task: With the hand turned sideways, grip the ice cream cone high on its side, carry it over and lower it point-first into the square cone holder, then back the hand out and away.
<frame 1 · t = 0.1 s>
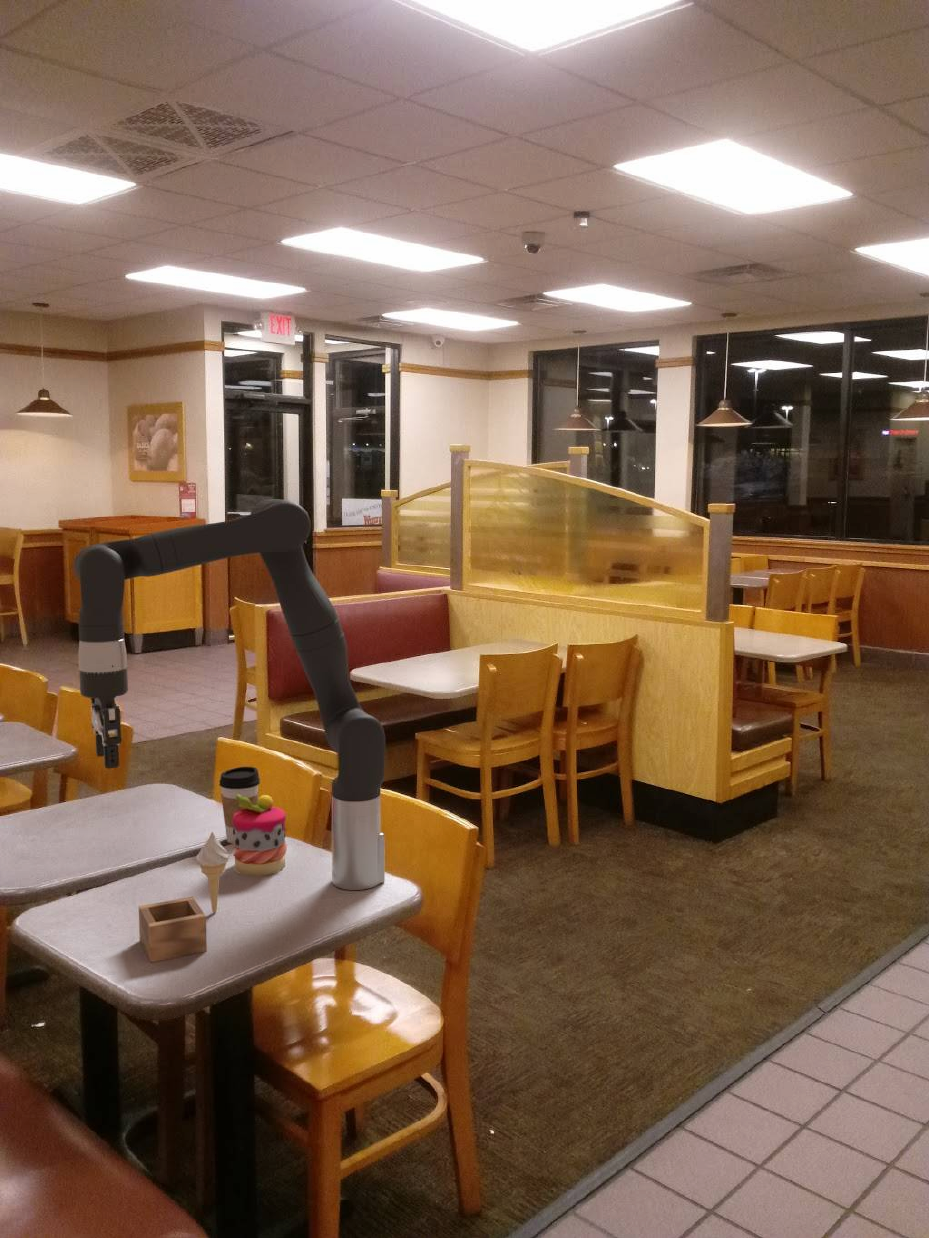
hand: (107, 761, 175), 29 cm above the table, tool pointing down, fingers open, 8 cm apart
cone holder: (172, 945, 172), on the table
cake: (260, 867, 207), on the table
coffee cup: (240, 840, 222), on the table
ice cream cone: (214, 913, 185), on the table
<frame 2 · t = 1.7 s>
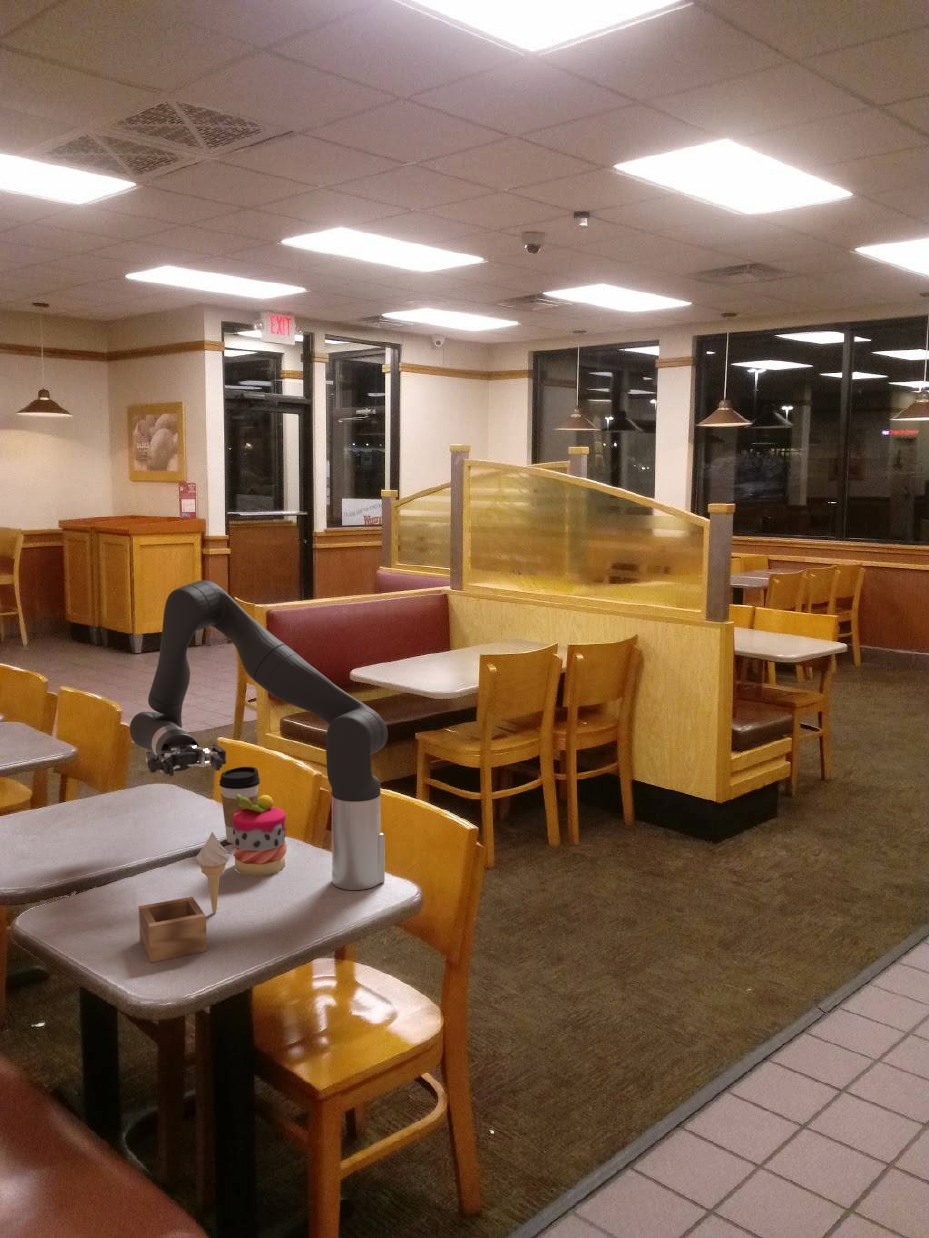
hand: (195, 767, 191), 24 cm above the table, tool horizontal, fingers open, 8 cm apart
nothing on the table moved.
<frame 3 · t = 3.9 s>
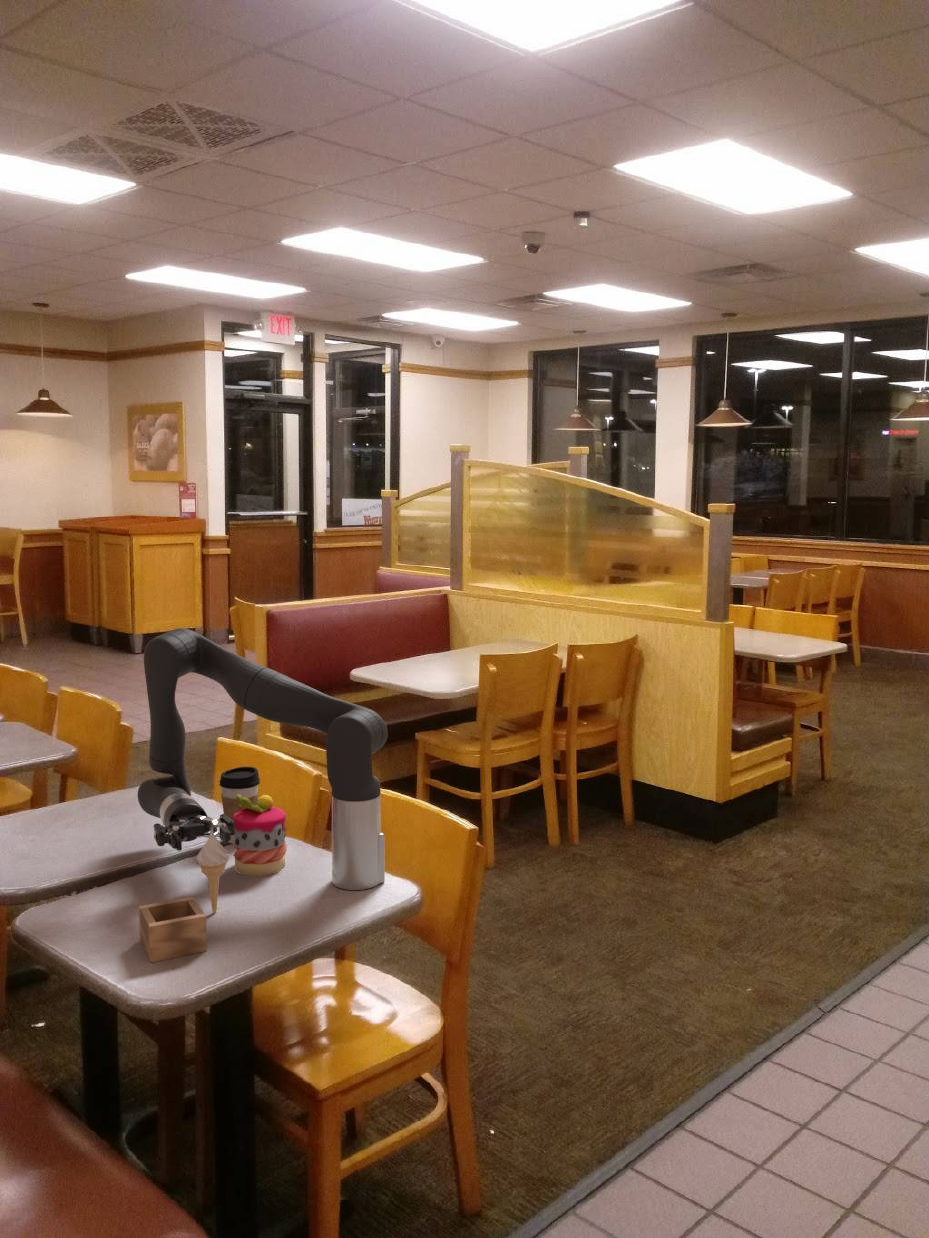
hand: (203, 841, 189), 11 cm above the table, tool horizontal, fingers open, 8 cm apart
nothing on the table moved.
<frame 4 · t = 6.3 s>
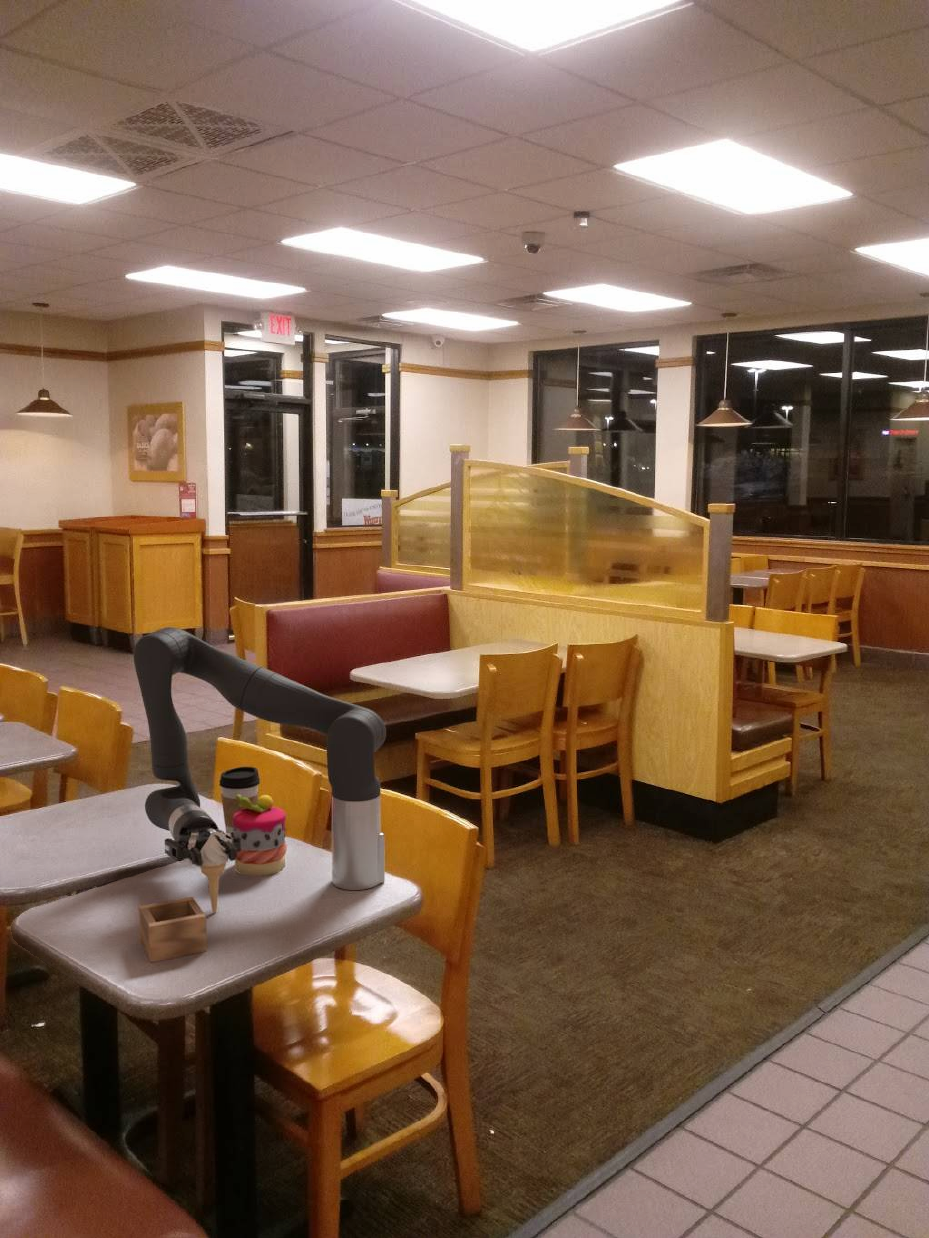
hand: (216, 857, 181), 11 cm above the table, tool horizontal, fingers closed on ice cream cone, 5 cm apart
ice cream cone: (214, 913, 185), on the table, touching gripper
everything else where it was.
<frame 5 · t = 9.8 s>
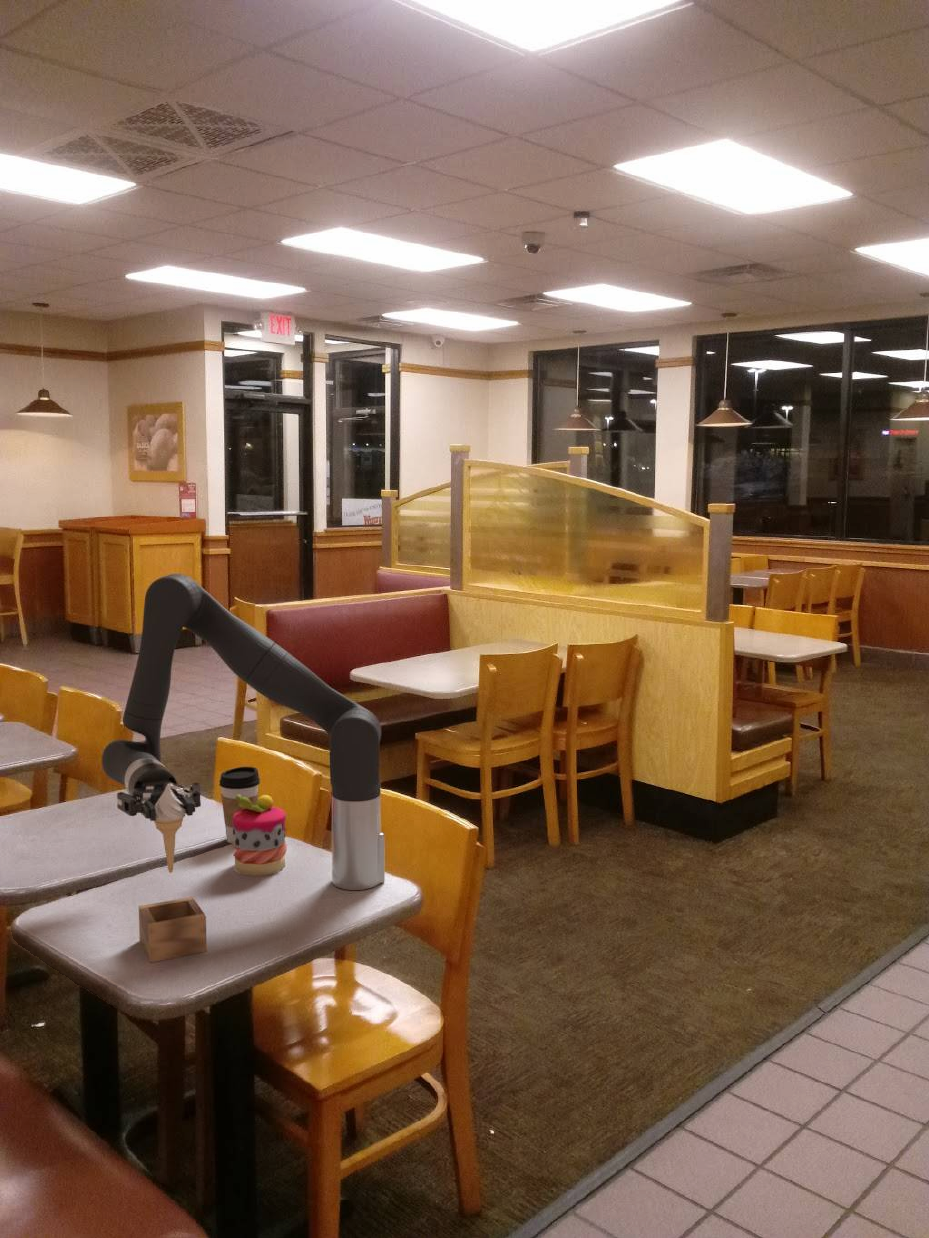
hand: (172, 812, 166), 24 cm above the table, tool horizontal, fingers closed on ice cream cone, 5 cm apart
ice cream cone: (170, 873, 170), point 12 cm above the table, touching gripper
everything else where it was.
when the fingers open (12 cm above the table, at t = 13.4 s): ice cream cone stays where it is, resting in cone holder.
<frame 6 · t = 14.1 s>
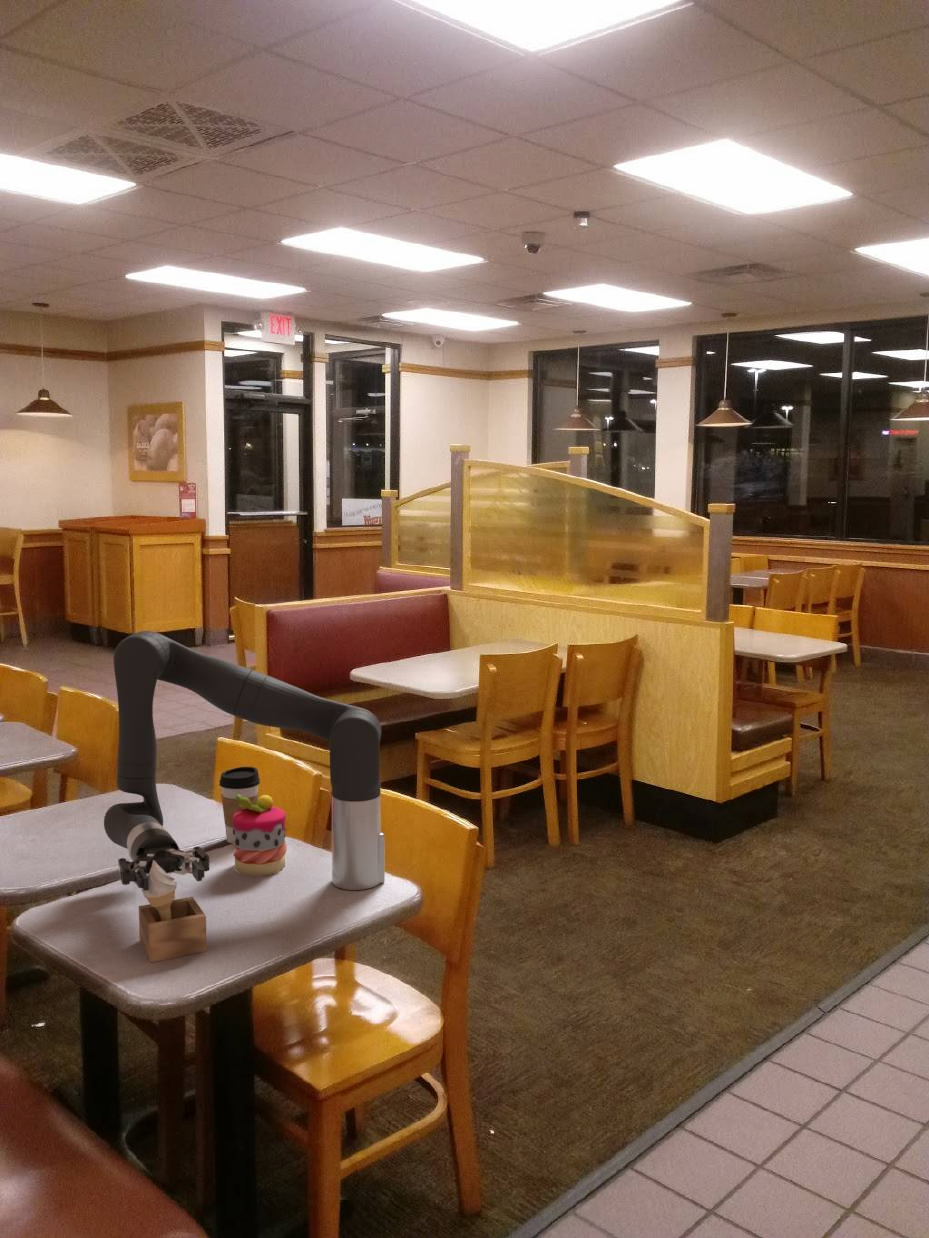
hand: (173, 879, 168), 12 cm above the table, tool horizontal, fingers open, 8 cm apart
ice cream cone: (172, 946, 172), resting in cone holder, touching gripper
everything else where it was.
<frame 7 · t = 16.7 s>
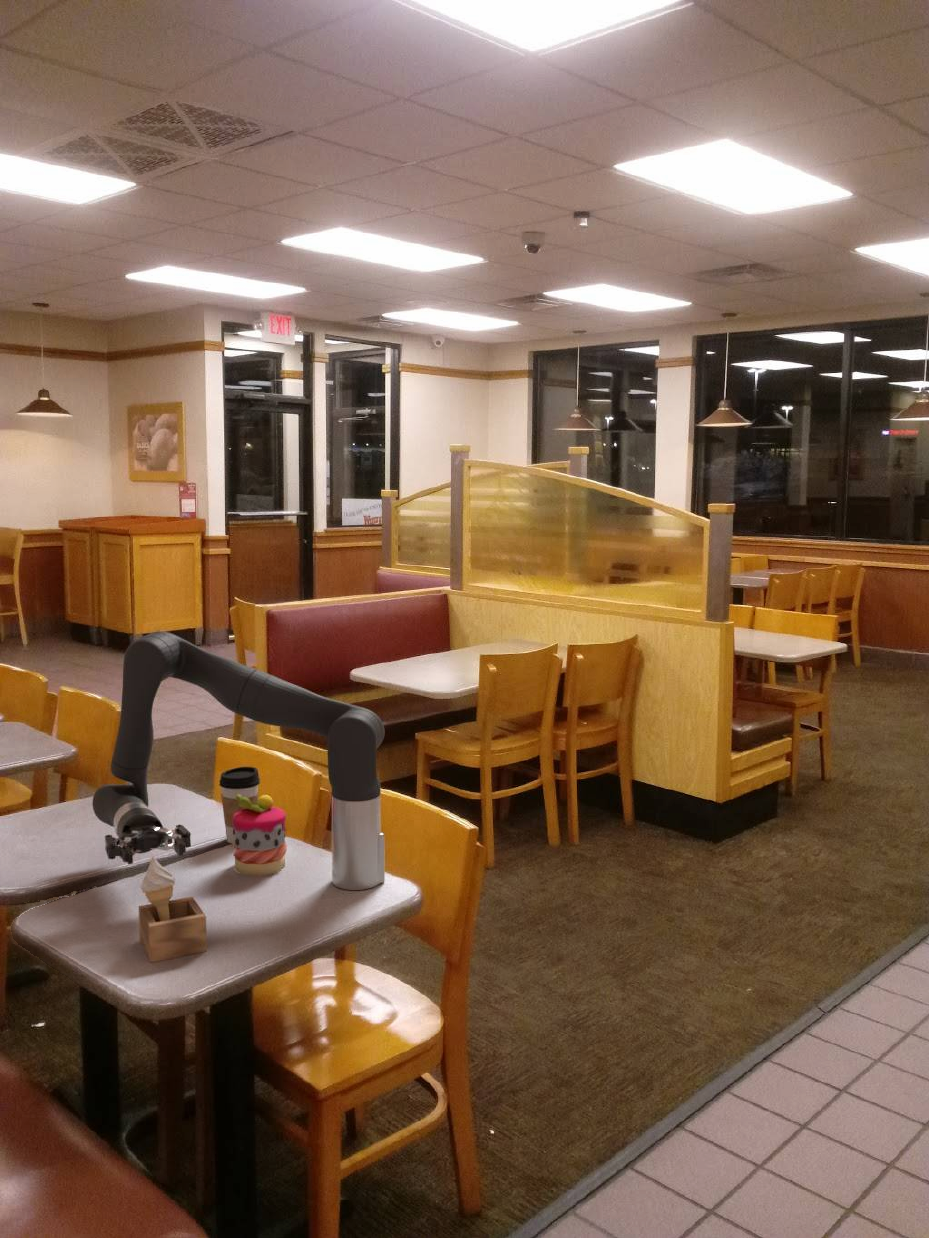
hand: (156, 854, 180), 12 cm above the table, tool horizontal, fingers open, 8 cm apart
ice cream cone: (169, 946, 171), resting in cone holder
everything else where it was.
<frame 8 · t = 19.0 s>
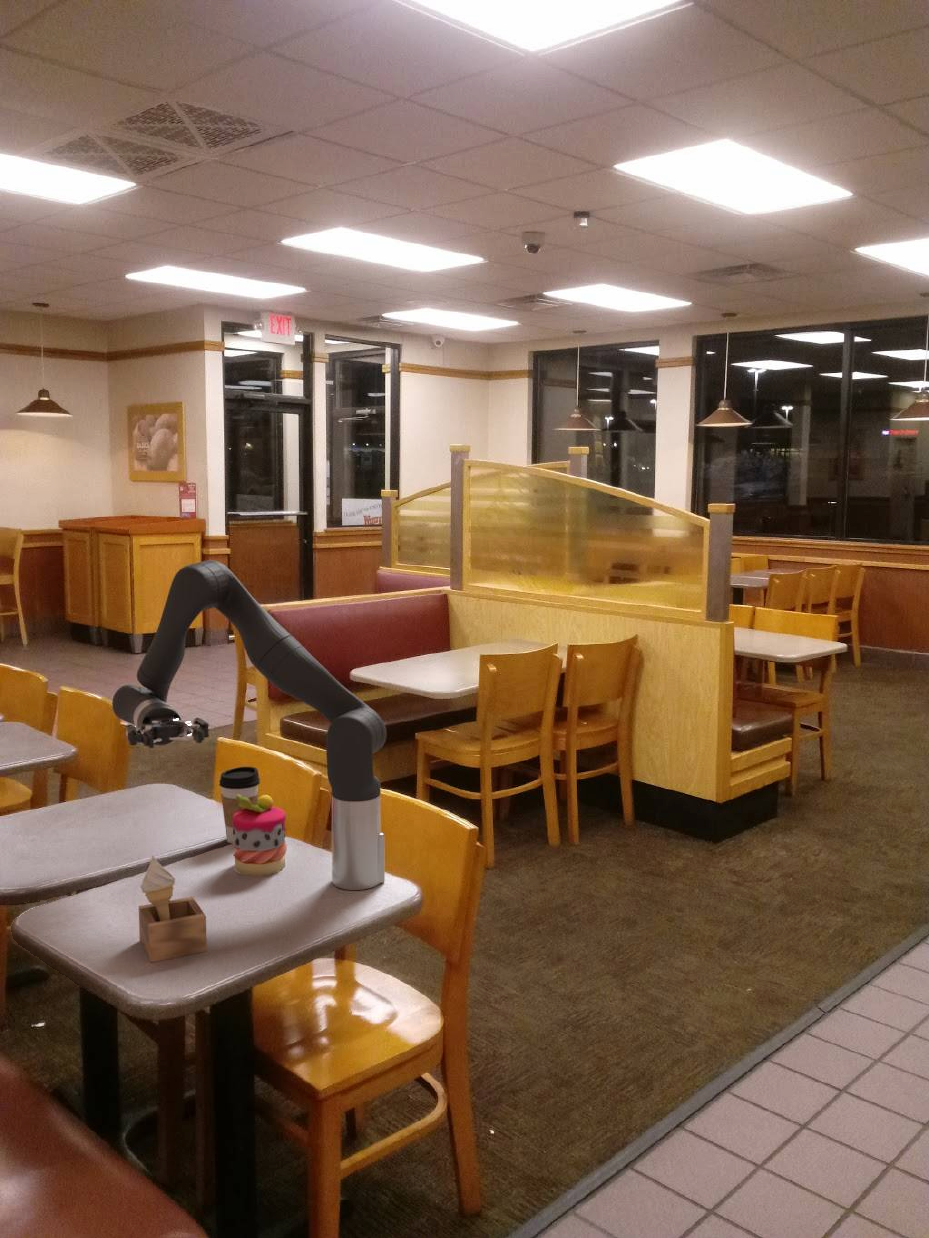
hand: (176, 740, 186), 30 cm above the table, tool horizontal, fingers open, 8 cm apart
nothing on the table moved.
at the end: ice cream cone 0.5 cm off-centre on the cone holder, point 0.0 cm above the cone holder's base; ice cream cone tilted 18°; the gripper is holding nothing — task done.
